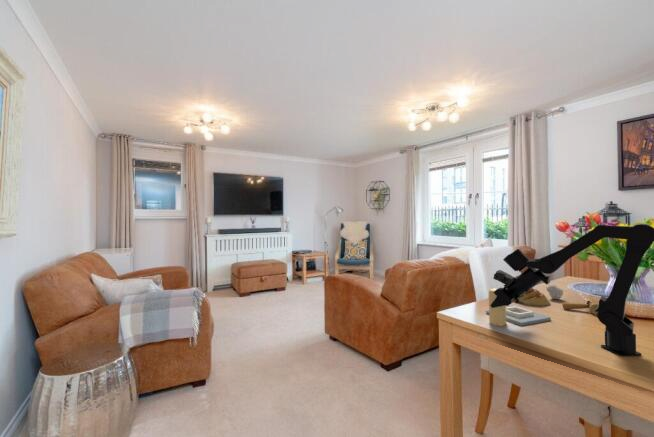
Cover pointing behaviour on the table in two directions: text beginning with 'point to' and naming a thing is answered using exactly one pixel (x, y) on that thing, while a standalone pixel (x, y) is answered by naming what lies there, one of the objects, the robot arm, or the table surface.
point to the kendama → (581, 306)
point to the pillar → (496, 311)
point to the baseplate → (523, 316)
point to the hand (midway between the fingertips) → (493, 305)
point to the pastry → (533, 298)
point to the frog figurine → (554, 292)
